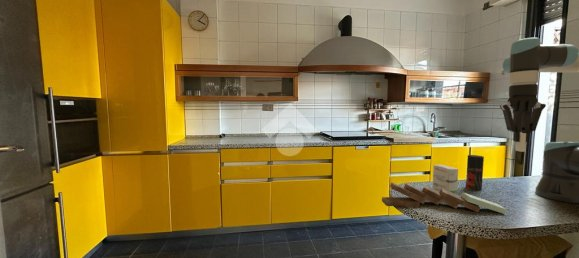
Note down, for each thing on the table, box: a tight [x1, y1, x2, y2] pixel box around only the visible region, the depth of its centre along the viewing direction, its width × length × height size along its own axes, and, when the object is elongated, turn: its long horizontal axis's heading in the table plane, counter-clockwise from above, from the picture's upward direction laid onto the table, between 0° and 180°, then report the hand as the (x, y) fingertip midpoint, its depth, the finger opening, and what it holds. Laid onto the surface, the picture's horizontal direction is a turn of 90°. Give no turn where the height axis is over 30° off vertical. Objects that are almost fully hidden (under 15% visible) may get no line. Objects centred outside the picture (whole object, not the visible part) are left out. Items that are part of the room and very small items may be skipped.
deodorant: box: [465, 154, 485, 192], centre depth 116 cm, size 6×6×15 cm
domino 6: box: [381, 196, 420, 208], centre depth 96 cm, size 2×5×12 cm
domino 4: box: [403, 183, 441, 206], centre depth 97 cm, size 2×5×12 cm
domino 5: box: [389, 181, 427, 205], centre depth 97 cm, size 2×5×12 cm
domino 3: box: [421, 184, 460, 209], centre depth 96 cm, size 2×5×12 cm
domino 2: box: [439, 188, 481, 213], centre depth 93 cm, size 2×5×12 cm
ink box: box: [432, 164, 459, 195], centre depth 108 cm, size 9×5×12 cm, turn 12°
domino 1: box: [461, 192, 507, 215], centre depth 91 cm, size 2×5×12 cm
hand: (520, 150), depth 91 cm, fingers closed
